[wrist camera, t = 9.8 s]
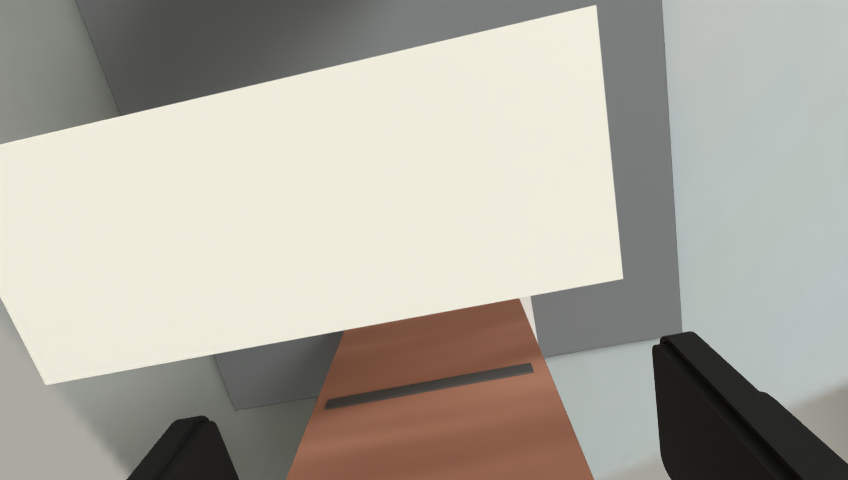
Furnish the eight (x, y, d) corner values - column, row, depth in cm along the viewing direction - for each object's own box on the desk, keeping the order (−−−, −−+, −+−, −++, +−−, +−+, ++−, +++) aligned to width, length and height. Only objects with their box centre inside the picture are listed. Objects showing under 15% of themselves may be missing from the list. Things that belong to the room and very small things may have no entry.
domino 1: (299, 112, 13) (-74, 155, 4) (475, 72, 13) (594, -4, 3) (319, 184, 14) (47, 389, 4) (488, 149, 13) (623, 284, 4)
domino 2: (353, 306, 15) (200, 690, 5) (509, 274, 14) (658, 631, 5) (370, 363, 15) (261, 803, 6) (521, 334, 15) (672, 760, 5)
